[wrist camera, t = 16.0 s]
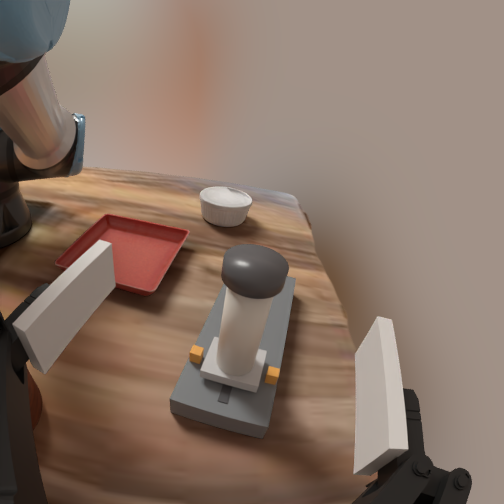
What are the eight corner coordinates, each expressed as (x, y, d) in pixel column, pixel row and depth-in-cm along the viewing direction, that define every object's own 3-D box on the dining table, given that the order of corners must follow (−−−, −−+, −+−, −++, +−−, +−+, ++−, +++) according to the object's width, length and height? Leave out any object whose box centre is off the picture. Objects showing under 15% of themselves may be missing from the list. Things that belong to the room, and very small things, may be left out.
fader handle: (255, 393, 30) (290, 291, 22) (199, 377, 30) (210, 269, 23) (265, 356, 34) (296, 254, 27) (213, 342, 35) (228, 237, 27)
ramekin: (257, 218, 72) (261, 197, 69) (230, 236, 63) (233, 212, 60) (217, 202, 76) (220, 182, 73) (187, 216, 67) (189, 194, 64)
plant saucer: (155, 309, 43) (154, 291, 41) (55, 279, 43) (51, 262, 41) (190, 245, 58) (191, 230, 56) (106, 227, 58) (105, 212, 57)
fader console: (262, 438, 28) (271, 420, 26) (170, 412, 29) (169, 391, 27) (291, 293, 51) (298, 270, 48) (231, 277, 51) (235, 254, 49)
